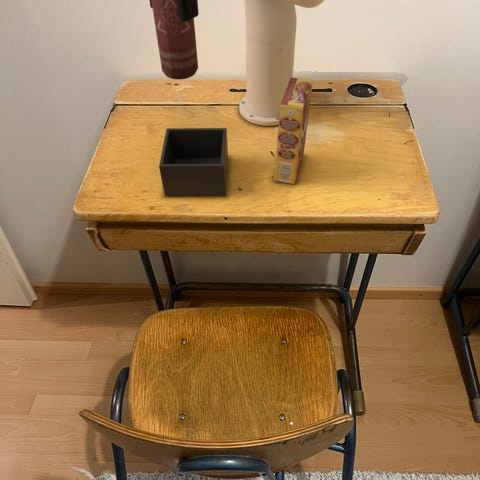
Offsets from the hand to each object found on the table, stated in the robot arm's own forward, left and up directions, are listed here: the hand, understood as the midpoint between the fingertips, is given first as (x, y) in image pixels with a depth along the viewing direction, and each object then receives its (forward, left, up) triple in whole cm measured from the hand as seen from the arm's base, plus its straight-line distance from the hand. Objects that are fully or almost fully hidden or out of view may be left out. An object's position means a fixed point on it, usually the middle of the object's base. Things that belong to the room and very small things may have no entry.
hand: (174, 10), depth 71 cm
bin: (+4, +5, -26) cm, 27 cm away
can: (0, 0, -9) cm, 9 cm away
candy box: (-9, +17, -26) cm, 32 cm away
